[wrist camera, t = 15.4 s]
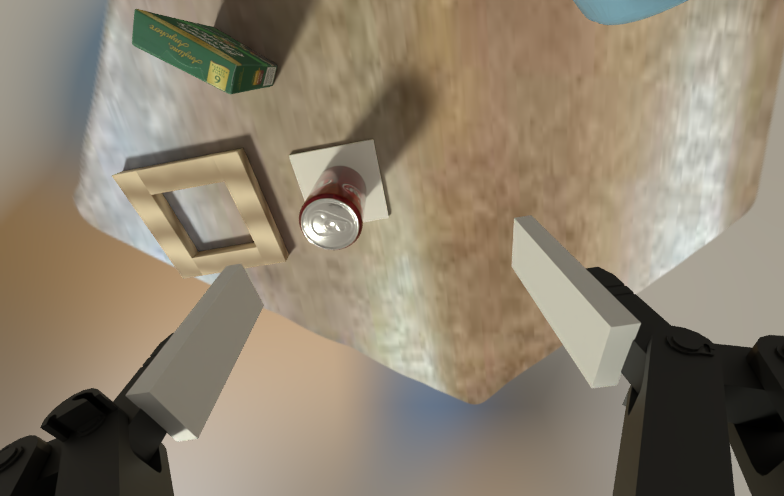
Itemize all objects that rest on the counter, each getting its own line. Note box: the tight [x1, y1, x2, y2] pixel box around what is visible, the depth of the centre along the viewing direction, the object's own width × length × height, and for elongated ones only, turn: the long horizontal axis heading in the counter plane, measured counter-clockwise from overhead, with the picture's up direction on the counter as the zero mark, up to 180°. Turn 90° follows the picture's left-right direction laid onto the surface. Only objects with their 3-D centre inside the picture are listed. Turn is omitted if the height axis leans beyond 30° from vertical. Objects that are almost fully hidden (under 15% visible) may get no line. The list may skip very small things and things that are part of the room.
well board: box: [112, 148, 289, 278], centre depth 45 cm, size 18×18×2 cm
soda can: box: [299, 166, 367, 250], centre depth 38 cm, size 7×7×12 cm
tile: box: [289, 139, 389, 222], centre depth 44 cm, size 12×12×1 cm
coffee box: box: [132, 9, 277, 94], centre depth 30 cm, size 8×3×13 cm, turn 61°
